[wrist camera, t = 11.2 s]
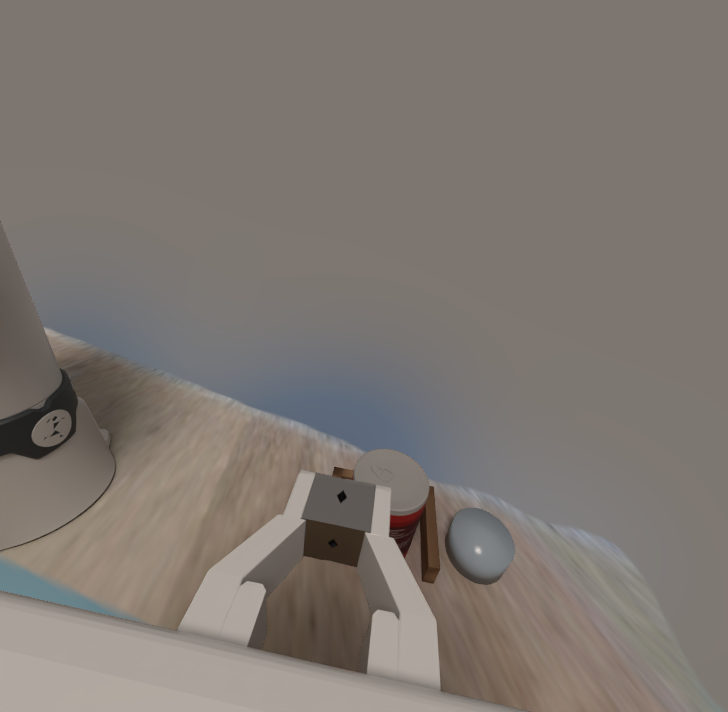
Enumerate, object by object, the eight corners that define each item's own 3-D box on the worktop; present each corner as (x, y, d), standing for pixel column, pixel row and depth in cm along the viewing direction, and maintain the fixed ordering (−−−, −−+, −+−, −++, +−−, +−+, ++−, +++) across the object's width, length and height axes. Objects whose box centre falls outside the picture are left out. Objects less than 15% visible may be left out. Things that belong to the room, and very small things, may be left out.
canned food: (355, 499, 42) (367, 439, 36) (413, 523, 40) (435, 463, 34) (331, 555, 35) (341, 491, 30) (399, 586, 33) (423, 524, 28)
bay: (312, 557, 35) (314, 542, 33) (332, 481, 44) (334, 466, 42) (433, 583, 34) (440, 568, 33) (428, 501, 43) (433, 486, 41)
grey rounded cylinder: (447, 577, 35) (456, 560, 33) (442, 519, 41) (449, 502, 39) (510, 591, 35) (523, 575, 33) (496, 530, 41) (505, 514, 39)
